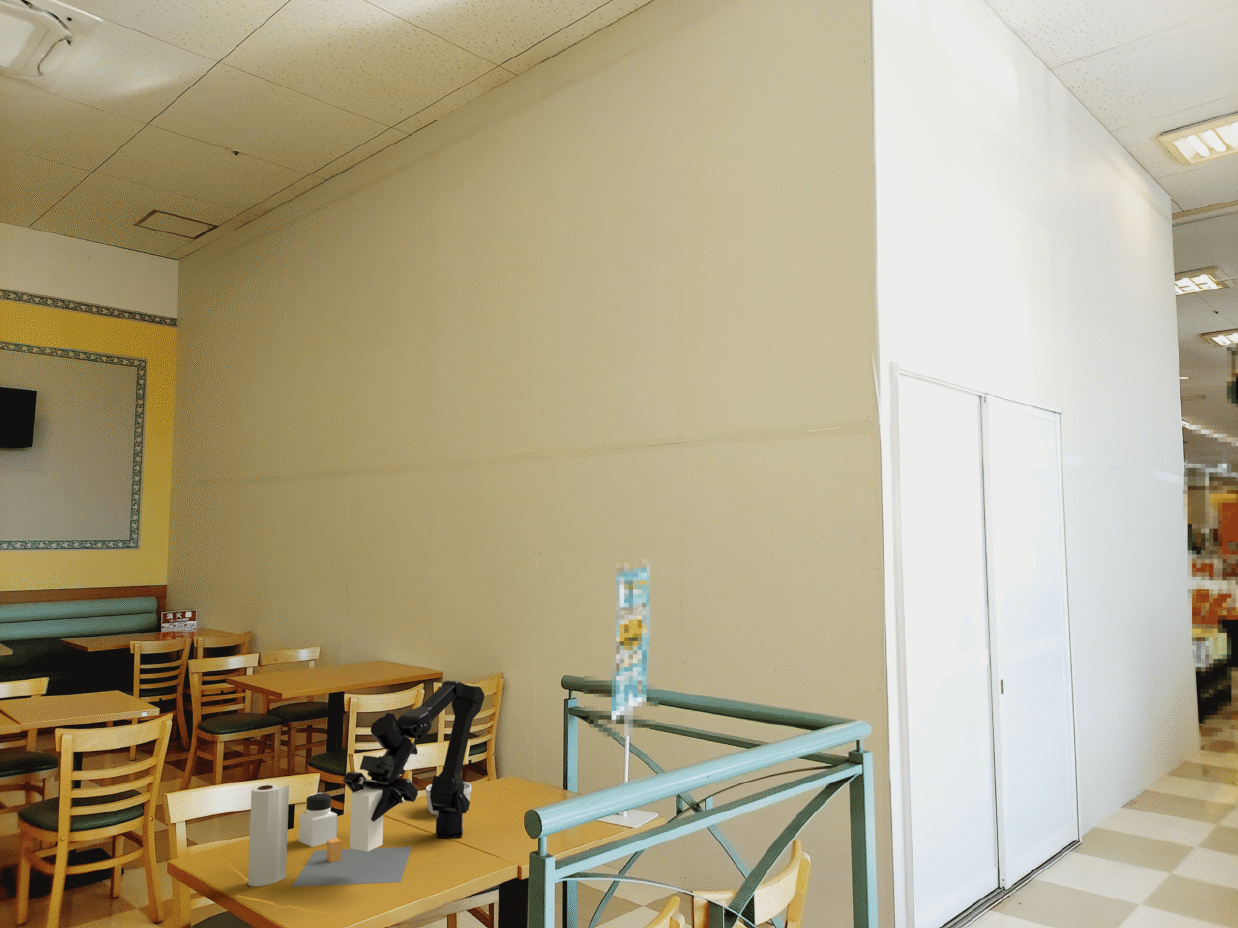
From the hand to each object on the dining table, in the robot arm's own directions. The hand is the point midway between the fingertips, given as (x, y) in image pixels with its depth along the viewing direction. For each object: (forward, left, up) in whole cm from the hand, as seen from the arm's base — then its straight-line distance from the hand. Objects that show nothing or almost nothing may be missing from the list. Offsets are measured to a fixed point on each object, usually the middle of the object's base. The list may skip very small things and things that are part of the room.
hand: (363, 818), depth 207 cm
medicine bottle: (+16, -28, -14) cm, 35 cm away
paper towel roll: (+22, 0, -14) cm, 26 cm away
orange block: (+9, -13, -13) cm, 20 cm away
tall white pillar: (-1, -1, -7) cm, 7 cm away
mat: (+3, -8, -13) cm, 16 cm away
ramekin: (-16, -52, -14) cm, 56 cm away
